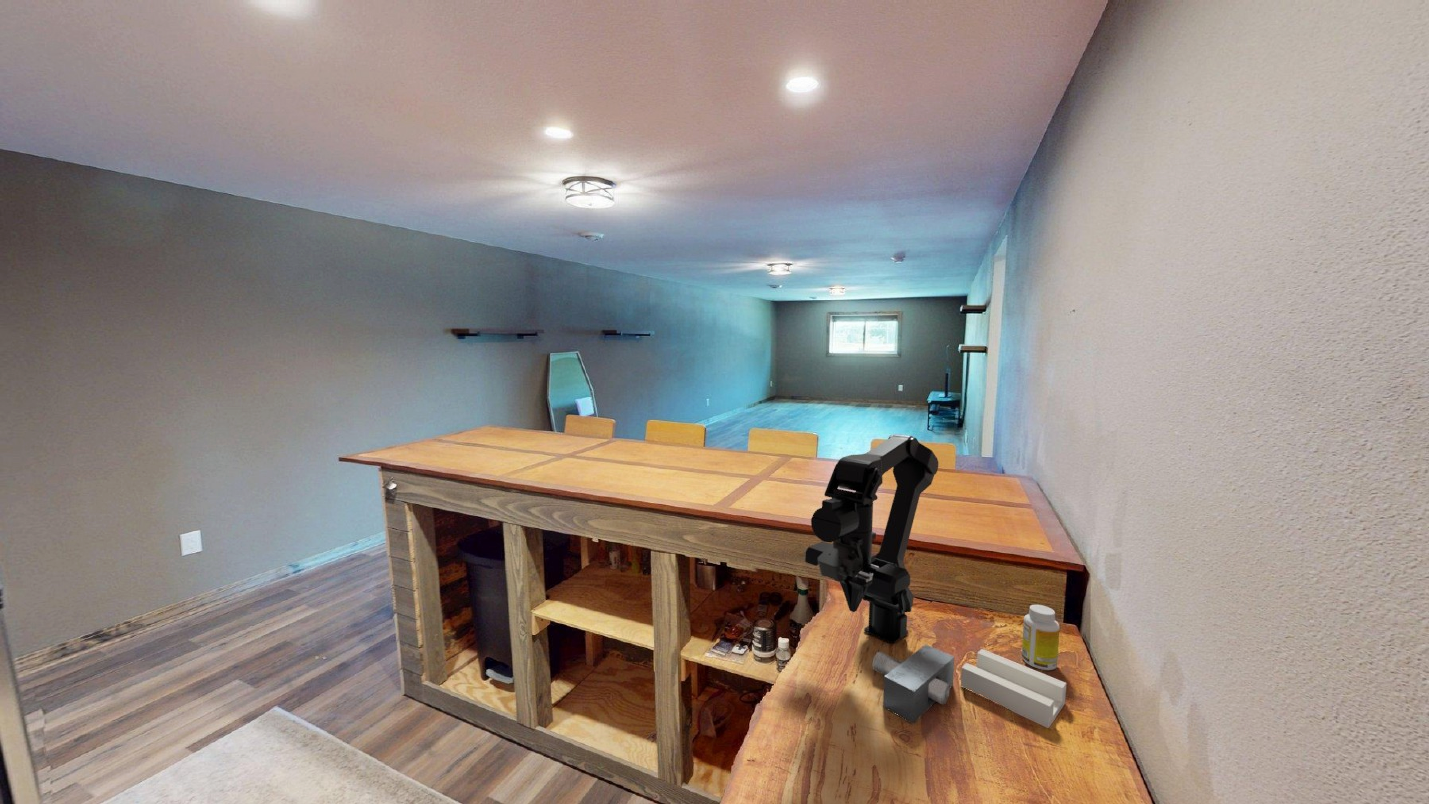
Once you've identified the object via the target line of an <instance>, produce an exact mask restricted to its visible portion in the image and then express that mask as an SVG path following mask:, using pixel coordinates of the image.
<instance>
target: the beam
mask: <svg viewBox="0 0 1429 804" xmlns="http://www.w3.org/2000/svg"><path fill="white" fill-rule="evenodd" d="M901 662H902V663H901V664H900V665H898V666H897V667H896V668H894V669H893V670H892V671H890V672H889V673H888V674H886V675H884V676H883V697H882V698H883V699H882V707H883V708H884V707H885V708H886V709H885V708H884V709H885V710H887V709H889V710H890V711H889V710H888V711H889V712H891V711H892V712H894V713H896V714H898V715H899V716H898V715H897V716H898V717H900V716H901V717H903V718H904V719H903V718H902V719H903V720H905V719H906V720H905V721H907V722H908V721H910V722H909V723H910V724H912V725H913V724H915V722H917V720H919V719H920V718H921V717H922V716H923V715H924V714H925V713H926V712H927V711H928V710H929V709H930V708H931V707H932V706H933V705H934V704H935V703H936V702H935V700H933V699H931V698H929V697H928V690H929V683H930V682H931V681H932V680H933V679H935V678H937V679H939V680H941V681H943V682H945V683H947V684H949V687H951V686H952V687H954V674H955V673H954V671H955V668H954V667H955V656H953V655H952V654H949V653H947V652H944V651H942V650H940V649H938V648H936V647H933V646H931V645H928V644H924V645H922V647H920V648H919V649H918V650H916V651H915V652H914V653H912V655H910V656H909V657H908V658H906V659H905V660H903V661H901ZM952 687H951V688H952ZM934 702H935V703H934ZM933 703H934V704H933ZM932 704H933V705H932ZM931 705H932V706H931ZM930 706H931V707H930ZM929 707H930V708H929ZM928 708H929V709H928ZM927 709H928V710H927ZM892 712H891V713H892ZM894 713H893V714H894ZM923 713H924V714H923ZM896 714H895V715H896ZM922 714H923V715H922ZM921 715H922V716H921ZM920 716H921V717H920ZM901 717H900V718H901ZM919 717H920V718H919ZM918 718H919V719H918Z"/></svg>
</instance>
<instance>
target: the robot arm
mask: <svg viewBox="0 0 1429 804" xmlns="http://www.w3.org/2000/svg"><path fill="white" fill-rule="evenodd" d="M890 470H892V474H893V477H894V479H895V480H894V481H895V482H896V488H895V492H894V496H893V499H892V503H891V506H890V510H889V514H888V519H887V521H886V525H885V529H884V533H883V537H882V541H881V544H880V547H879V551H878V552H877V553H876V554H873V553H872V547H873V540H876V539H877V538H876V537H877V533H876V532H875V531H873V522H874V521H873V518H874V517H873V516H874V515H873V514H874V502H875V501H877V500H878V497H879V496H878V495H877V491H878V490H879V487H880V486H881V485H882V484H883V476H884V474H885V473H887V472H888V471H890ZM938 470H939V459H938V457H937V456H936V454H935V453H934V452H933V450H932V449H930V448H929V447H927V446H925V445H924V444H923V443H920V442H919V440H918V439H917V437H914V436H913V435H908V434H907V435H906V434H897V433H895V434H891V435H890V436H888V437H887V439H886V440H884V441H883V442H881V443H880V444H878V445H877V446H875V447H873V448H872V449H871V450H869V451H867V452H865V453H863V454H862V453H861V454H860V453H859V454H849V455H846V456H843V457H841V458H840V459H839V460H838V461H837V463H836V464H835V466H834V468H833V471H832V473H831V475H830V479H829V482H827V483H828V484H827V486H826V488H825V491H824V497H827V498H828V499H823V500H822V501H821V507H820V508H818V509H816V510H815V511H814V512H813V514H812V517H811V518H810V524H811V529H812V531H813V533H814V535H815V536H816V537H817V538H818V539H819V540H820V541H821V542H818V543H815V544H812V545H810V546H808V547H807V548H806V550H805V552H804V562H805V563H807V564H810V565H813V566H815V567H817V566H818V567H819V571H820V575H821V576H823V577H827V578H830V579H832V580H834V581H835V582H839V584H840V586H841V588H842V591H843V593H844V597H845V600H846V603H847V607H848V608H849V609H848V610H849V611H850V612H852V613H855V612H857V610H858V608H859V606H860V604H861V603H862V601H867V602H869V603H868V604H869V606H868V625H867V626H866V627H864V629H863V631H864V632H865V633H867V634H869V635H871V636H874V637H876V638H879V640H883V641H885V642H887V643H889V644H890V645H891V644H895V643H897V641H900V640H901V639H902V638H904V637H905V636H907V635H908V634H909V630H908V629H907V628H908V615H907V614H906V613H910V612H912V607H913V604H914V598H915V597H914V594H913V592H912V591H911V589H910V588H909V587H910V586H911V574H910V573H909V571H908V569H907V568H906V567H905V562H904V559H905V555H906V551H907V548H908V544H909V539H910V537H911V536H910V535H911V531H912V528H913V523H914V520H915V517H916V512H917V509H918V503H919V500H920V496H921V494H922V493H923V492H924V491H925V490H927V488H929V487H930V486H931V485H932V483H933V480H934V477H935V475H937V473H938ZM832 542H833V543H832ZM831 543H832V544H831Z"/></svg>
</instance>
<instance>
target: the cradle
mask: <svg viewBox="0 0 1429 804" xmlns="http://www.w3.org/2000/svg"><path fill="white" fill-rule="evenodd" d="M976 654H977V655H976V666H975V665H973V664H970V663H969V662H966V663H964V665H963V666H962V667H961V674H960V687H961V686H963V687H965V688H967V689H969V690H972V691H973V692H975V693H977V694H981V695H983V696H984V697H986V698H989V699H990V700H992V701H994V702H997V703H998V704H1000V705H1002V706H1004V707H1006V708H1008V709H1010V710H1011V711H1010V710H1009V711H1010V712H1013V713H1015V714H1017V715H1019V716H1021V717H1023V718H1026V719H1027V720H1029V721H1032V722H1034V723H1036V724H1038V725H1040V726H1043V727H1045V728H1047V729H1050V728H1051V725H1052V724H1053V722H1054V721H1055V720H1056V718H1057V717H1058V715H1059V714H1060V712H1061V710H1062V709H1063V707H1064V706H1065V705H1066V694H1067V682H1065V681H1062V680H1060V679H1057V678H1055V677H1052V676H1050V675H1047V674H1045V673H1044V672H1040V671H1038V670H1035V669H1032V668H1031V667H1028V666H1025V665H1024V664H1021V663H1018V662H1015V661H1013V660H1010V659H1008V658H1006V657H1003V656H1001V655H998V654H996V653H993V652H991V651H988V650H986V649H984V648H981V649H980V650H979V651H978V652H977V653H976ZM977 694H976V695H977ZM998 704H997V705H998ZM1000 705H999V706H1000ZM1002 706H1001V707H1002ZM1004 707H1003V708H1004ZM1006 708H1005V709H1006ZM1008 709H1007V710H1008Z"/></svg>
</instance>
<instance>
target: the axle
mask: <svg viewBox="0 0 1429 804" xmlns="http://www.w3.org/2000/svg"><path fill="white" fill-rule="evenodd" d="M902 662H903V661H900V660H898V658H897V659H896V658H894V657H892V656H890V655H888V654H886V653H884V652H881V651H878V652H876V654H875V655H874V657H873V660H872V670H874V671H875V672H878V673H880V674H882V675H884V676H885V675H886V674H888V673H889V672H890V671H892V670H893V669H894V668H896V667H897V666H898V665H900V664H901V663H902ZM950 690H951V688H950V687H949V684H947V683H945V682H943V681H941V680H939V679H937V678H935V679H933V680H932V681H931V682H930V683H929V690H928V697H929V698H931V699H933V700H935V701H936V702H937V703H939V704H940V705H945V704H946V703H947V701H948V699H949V697H950V693H951V691H950Z"/></svg>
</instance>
